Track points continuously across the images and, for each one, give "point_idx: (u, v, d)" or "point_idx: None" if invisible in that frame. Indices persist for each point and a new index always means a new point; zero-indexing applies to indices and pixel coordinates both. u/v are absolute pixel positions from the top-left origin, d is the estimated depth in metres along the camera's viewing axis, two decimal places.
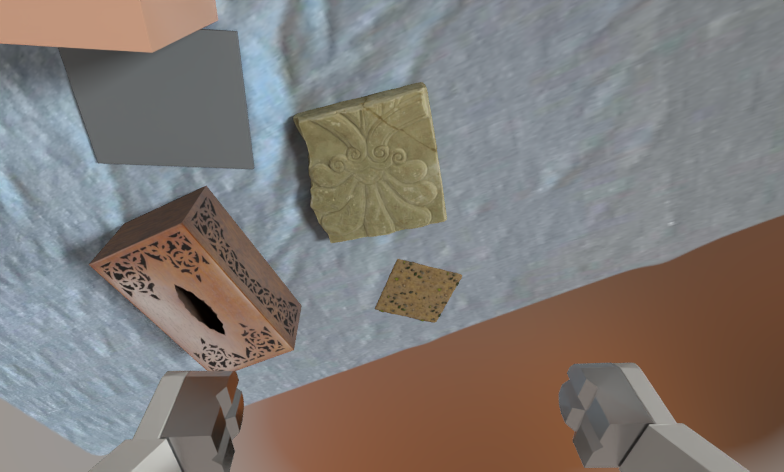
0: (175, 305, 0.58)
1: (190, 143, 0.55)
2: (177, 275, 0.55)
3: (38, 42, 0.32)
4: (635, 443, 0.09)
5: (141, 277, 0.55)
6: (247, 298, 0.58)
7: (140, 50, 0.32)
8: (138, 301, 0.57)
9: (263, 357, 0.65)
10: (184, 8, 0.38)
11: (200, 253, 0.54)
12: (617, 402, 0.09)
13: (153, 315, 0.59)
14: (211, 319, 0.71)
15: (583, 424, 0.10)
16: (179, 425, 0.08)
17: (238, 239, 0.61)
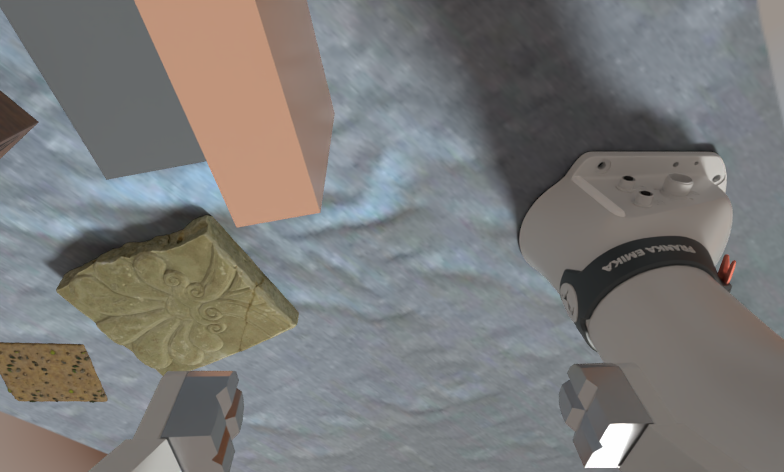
0: None
1: (95, 94, 0.36)
2: None
3: (177, 84, 0.20)
4: (635, 443, 0.09)
5: None
6: None
7: (232, 215, 0.24)
8: None
9: None
10: None
11: None
12: (617, 402, 0.09)
13: None
14: None
15: (583, 424, 0.10)
16: (179, 425, 0.08)
17: None
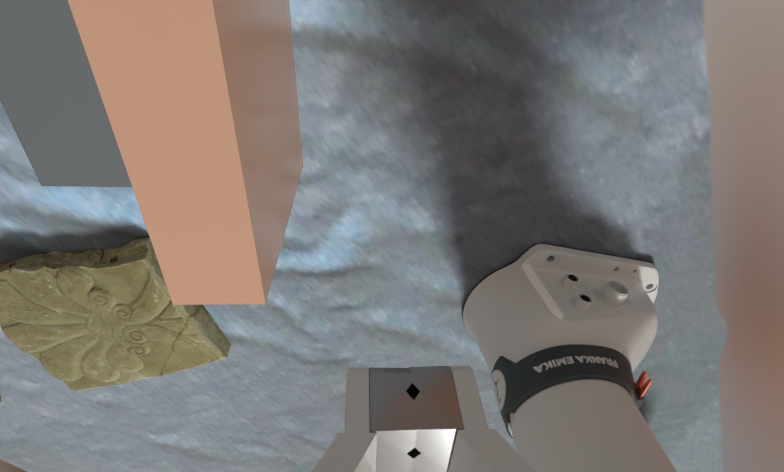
0: None
1: (44, 100, 0.33)
2: None
3: (131, 169, 0.19)
4: (453, 449, 0.09)
5: None
6: None
7: (171, 293, 0.23)
8: None
9: None
10: None
11: None
12: (434, 407, 0.09)
13: None
14: None
15: None
16: (383, 419, 0.09)
17: None
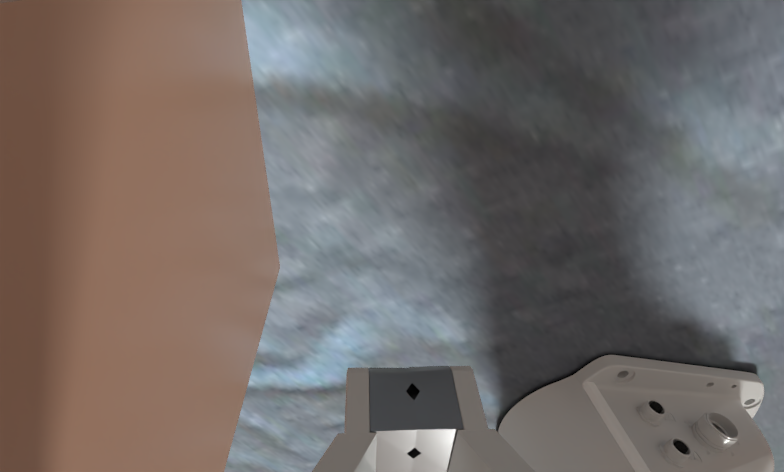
0: None
1: None
2: None
3: None
4: (453, 449, 0.09)
5: None
6: None
7: None
8: None
9: None
10: None
11: None
12: (434, 407, 0.09)
13: None
14: None
15: None
16: (383, 418, 0.09)
17: None
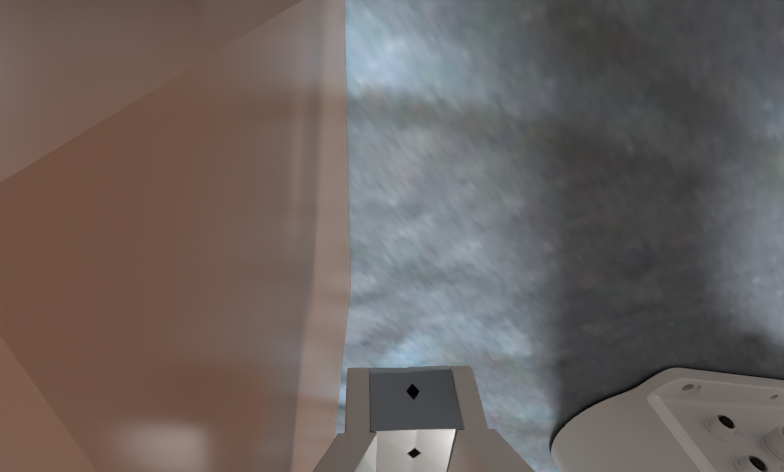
0: None
1: None
2: None
3: None
4: (453, 449, 0.09)
5: None
6: None
7: None
8: None
9: None
10: None
11: None
12: (434, 407, 0.09)
13: None
14: None
15: None
16: (383, 419, 0.08)
17: None
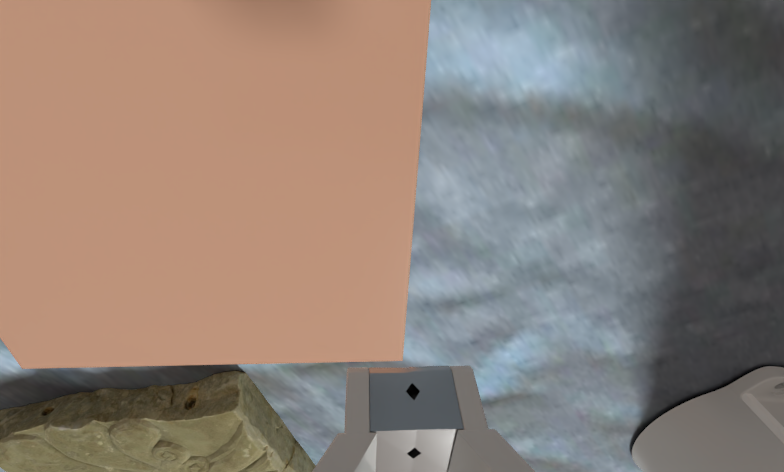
0: None
1: None
2: None
3: None
4: (453, 449, 0.09)
5: None
6: None
7: None
8: None
9: None
10: None
11: None
12: (434, 407, 0.09)
13: None
14: None
15: None
16: (383, 419, 0.09)
17: None
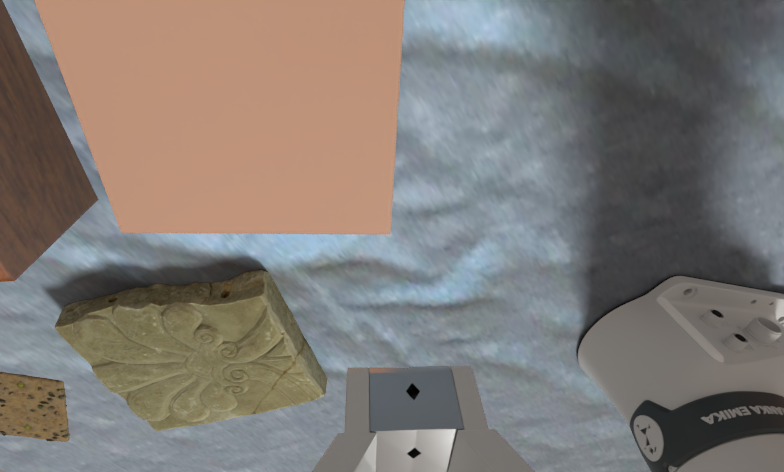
0: None
1: None
2: None
3: None
4: (453, 449, 0.09)
5: None
6: None
7: None
8: None
9: None
10: None
11: None
12: (434, 407, 0.09)
13: None
14: None
15: None
16: (383, 419, 0.09)
17: None
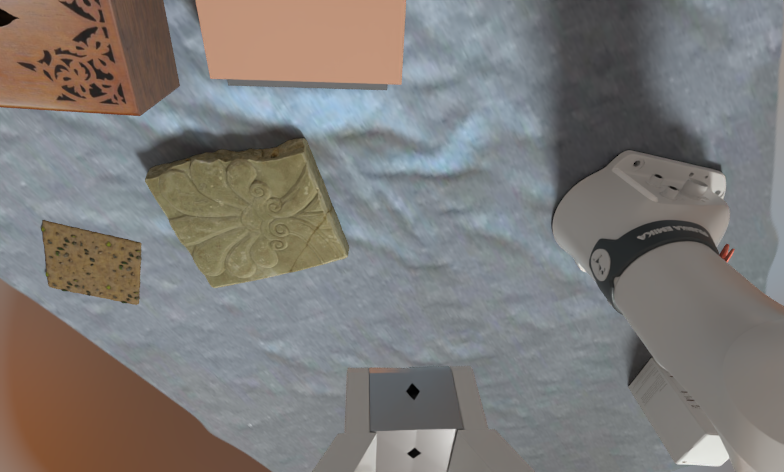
0: None
1: None
2: (38, 38, 0.33)
3: None
4: (453, 449, 0.09)
5: None
6: None
7: None
8: None
9: None
10: None
11: (80, 100, 0.36)
12: (434, 407, 0.09)
13: None
14: None
15: None
16: (383, 419, 0.09)
17: None
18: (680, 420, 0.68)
